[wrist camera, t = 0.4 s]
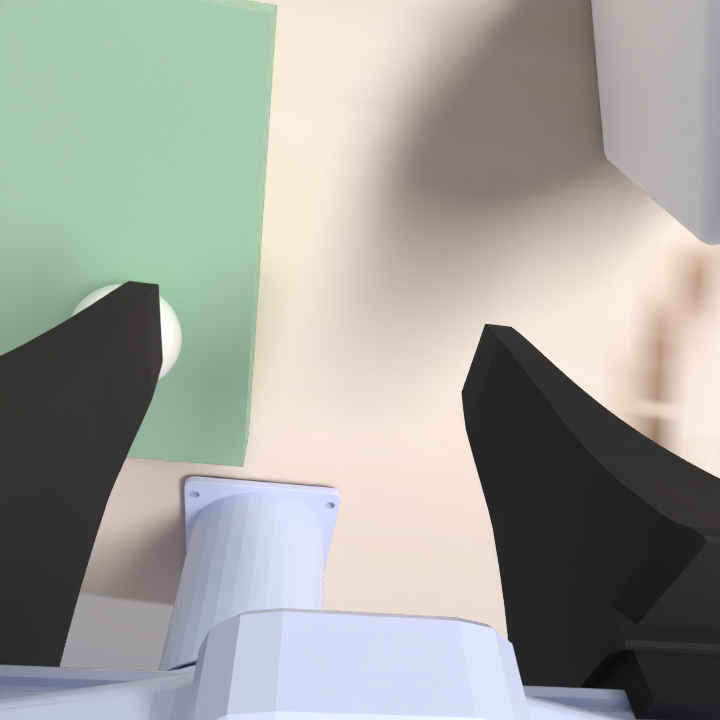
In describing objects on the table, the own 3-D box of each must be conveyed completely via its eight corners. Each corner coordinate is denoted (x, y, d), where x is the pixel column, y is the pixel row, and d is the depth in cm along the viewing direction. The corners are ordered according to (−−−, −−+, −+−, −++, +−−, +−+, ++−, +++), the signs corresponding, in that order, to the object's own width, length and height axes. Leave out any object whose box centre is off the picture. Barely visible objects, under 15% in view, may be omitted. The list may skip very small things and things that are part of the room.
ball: (192, 353, 22) (170, 417, 19) (94, 342, 22) (57, 406, 19) (190, 271, 20) (166, 329, 17) (83, 257, 19) (39, 315, 17)
